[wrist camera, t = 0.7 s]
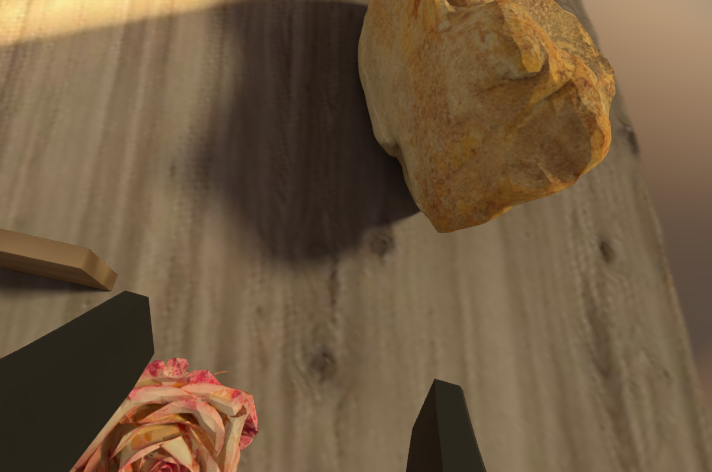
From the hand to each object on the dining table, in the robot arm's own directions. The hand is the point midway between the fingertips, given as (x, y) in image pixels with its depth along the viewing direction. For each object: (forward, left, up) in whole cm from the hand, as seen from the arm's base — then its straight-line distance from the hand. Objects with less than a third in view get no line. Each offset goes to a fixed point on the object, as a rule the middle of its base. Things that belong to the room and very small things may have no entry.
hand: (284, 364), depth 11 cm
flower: (-4, +4, -16) cm, 17 cm away
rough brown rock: (+21, -10, -16) cm, 29 cm away
